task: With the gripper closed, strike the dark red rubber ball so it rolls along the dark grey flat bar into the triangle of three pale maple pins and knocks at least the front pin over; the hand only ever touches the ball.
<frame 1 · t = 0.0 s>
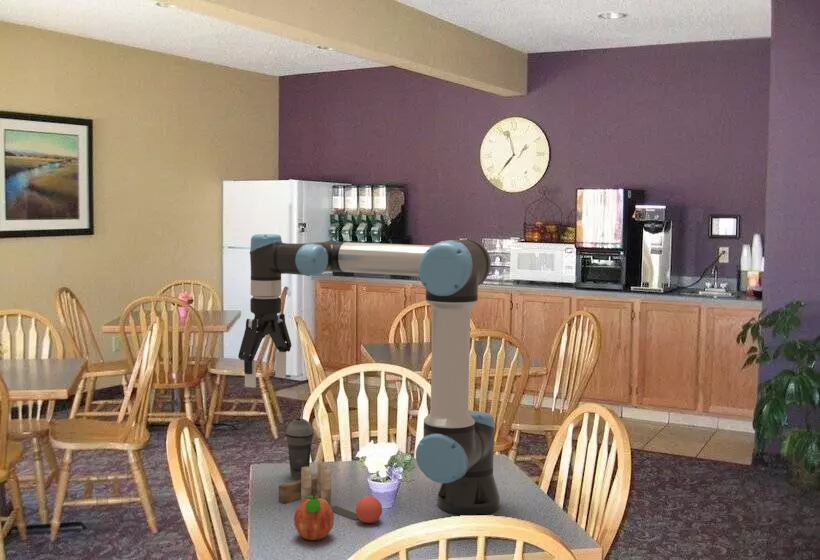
hand: (265, 382, 224), 28 cm above the table, tool pointing down, fingers open, 13 cm apart
back rail: (300, 496, 223), on the table
fruit: (313, 538, 197), on the table
ball: (368, 509, 206), on the table
beverage cup: (299, 477, 239), on the table
pin left: (306, 504, 218), on the table
pin right: (322, 499, 221), on the table
dark grey flat bar: (345, 513, 212), on the table
pin front: (325, 506, 217), on the table
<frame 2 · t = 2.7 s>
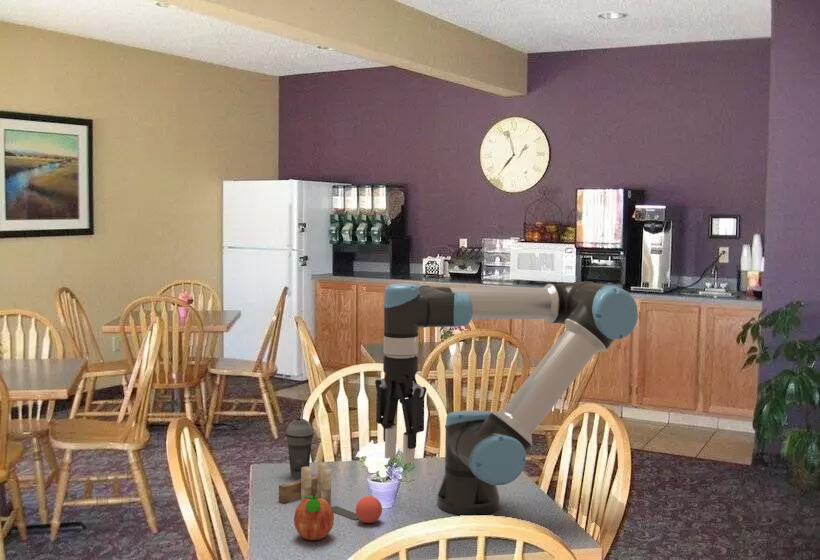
hand: (399, 459, 198), 17 cm above the table, tool pointing down, fingers open, 5 cm apart
nothing on the table moved.
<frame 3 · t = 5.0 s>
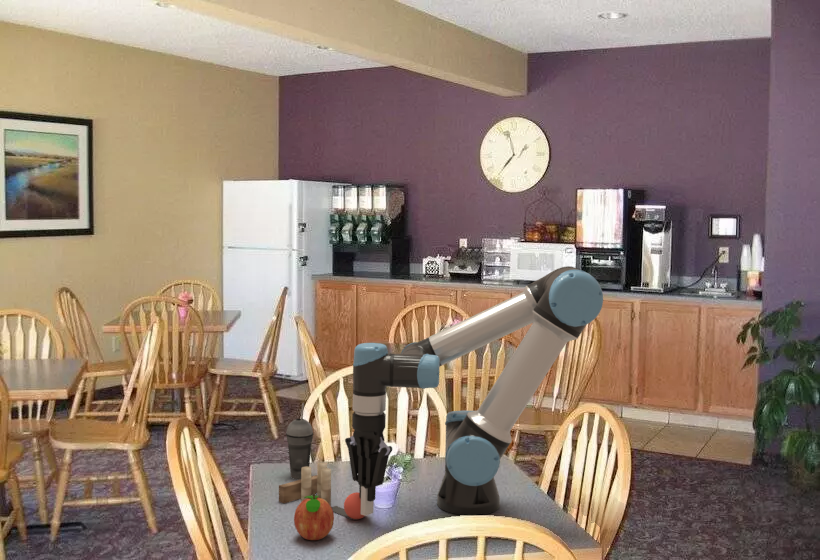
hand: (366, 513, 206), 2 cm above the table, tool pointing down, fingers closed
ball: (356, 505, 209), on the table, touching gripper
everything else where it was.
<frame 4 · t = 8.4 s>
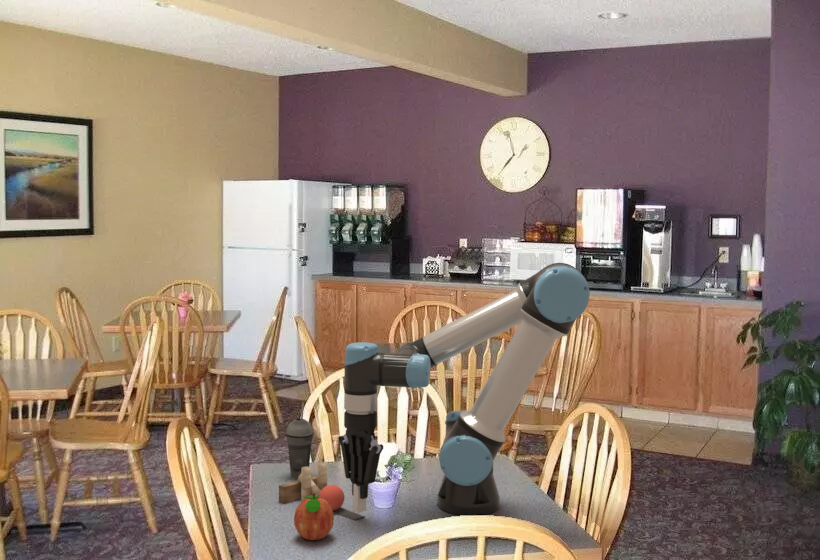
hand: (359, 510, 208), 2 cm above the table, tool pointing down, fingers closed
ball: (331, 497, 214), on the table
pin front: (323, 501, 217), point 1 cm above the table, tilted 60°, touching back rail
everything else where it was.
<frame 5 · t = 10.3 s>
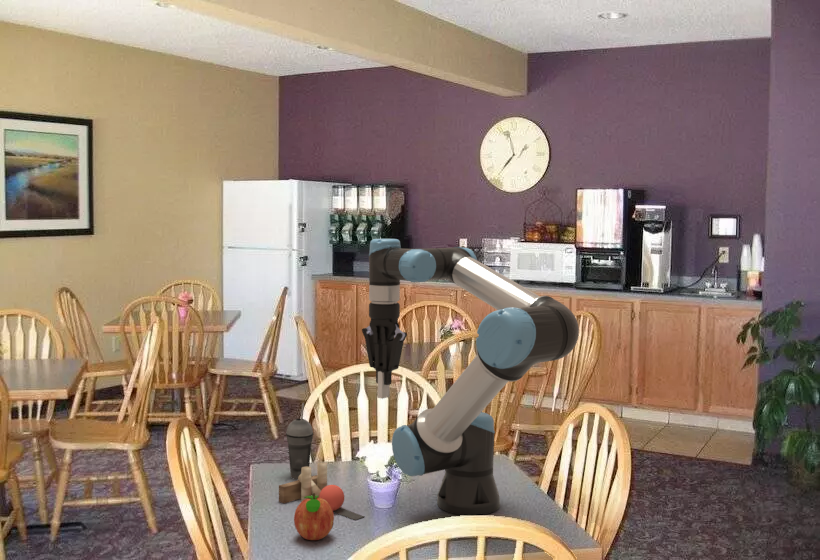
hand: (383, 397, 222), 25 cm above the table, tool pointing down, fingers closed
nothing on the table moved.
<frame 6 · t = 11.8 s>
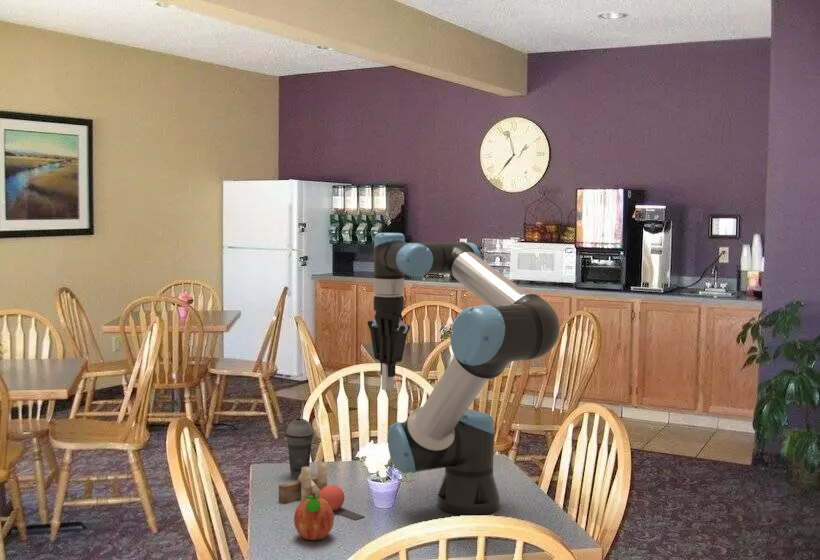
hand: (387, 389, 225), 26 cm above the table, tool pointing down, fingers closed
nothing on the table moved.
at the end: 1 of 3 knocked over (down: pin front; still standing: pin left, pin right); pin front never touched the robot; ball moved 12.0 cm from its start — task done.
